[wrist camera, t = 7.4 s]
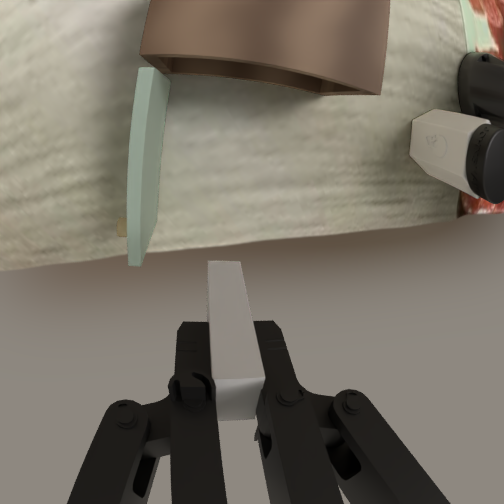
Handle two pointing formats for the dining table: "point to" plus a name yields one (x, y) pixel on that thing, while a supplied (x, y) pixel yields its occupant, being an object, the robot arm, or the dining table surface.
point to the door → (144, 162)
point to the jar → (461, 152)
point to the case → (273, 42)
